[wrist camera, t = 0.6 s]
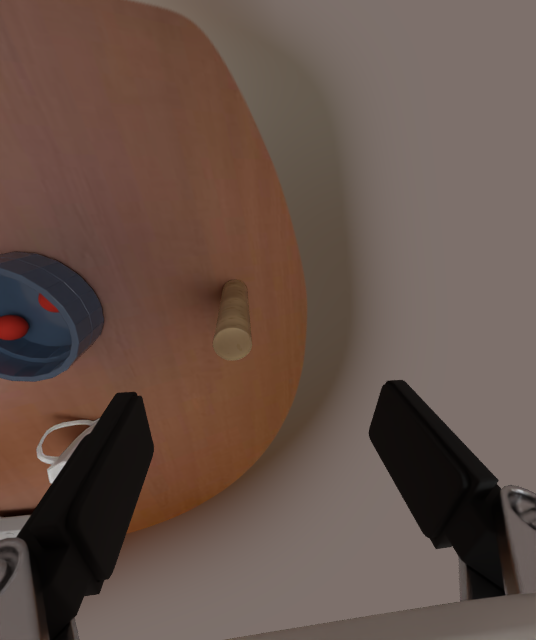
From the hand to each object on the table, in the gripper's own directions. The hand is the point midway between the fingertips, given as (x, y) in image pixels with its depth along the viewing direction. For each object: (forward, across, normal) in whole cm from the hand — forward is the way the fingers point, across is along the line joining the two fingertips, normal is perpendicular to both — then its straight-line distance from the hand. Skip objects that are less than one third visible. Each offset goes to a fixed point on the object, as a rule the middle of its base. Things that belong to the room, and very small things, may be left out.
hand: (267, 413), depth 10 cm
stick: (+23, +2, +3) cm, 24 cm away
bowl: (+24, +25, +5) cm, 35 cm away
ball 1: (+21, +28, +7) cm, 36 cm away
